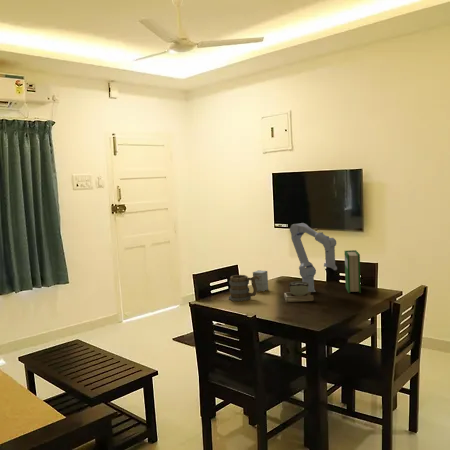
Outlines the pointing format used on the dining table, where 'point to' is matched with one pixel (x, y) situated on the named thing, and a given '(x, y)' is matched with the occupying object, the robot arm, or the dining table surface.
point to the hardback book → (352, 271)
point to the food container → (299, 288)
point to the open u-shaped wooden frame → (297, 297)
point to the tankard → (242, 287)
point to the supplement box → (261, 280)
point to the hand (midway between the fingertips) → (330, 279)
